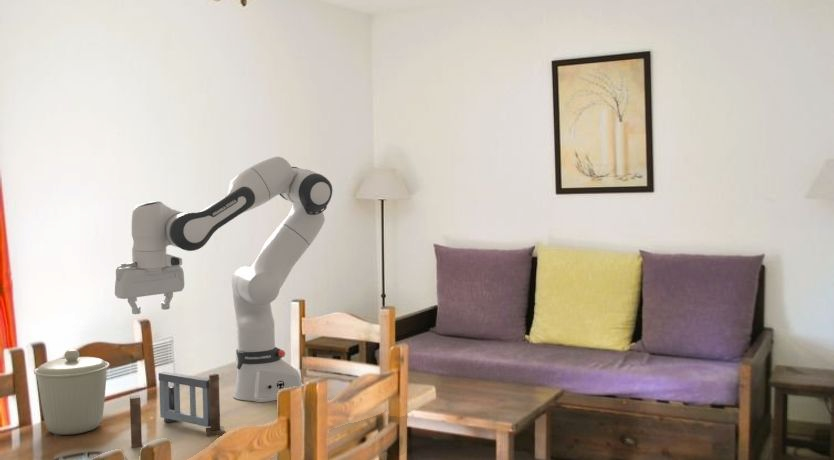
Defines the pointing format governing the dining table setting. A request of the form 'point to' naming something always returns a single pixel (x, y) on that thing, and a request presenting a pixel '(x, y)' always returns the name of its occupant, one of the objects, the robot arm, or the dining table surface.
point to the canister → (72, 393)
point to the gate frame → (212, 431)
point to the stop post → (171, 404)
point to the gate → (164, 398)
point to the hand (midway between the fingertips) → (151, 311)
